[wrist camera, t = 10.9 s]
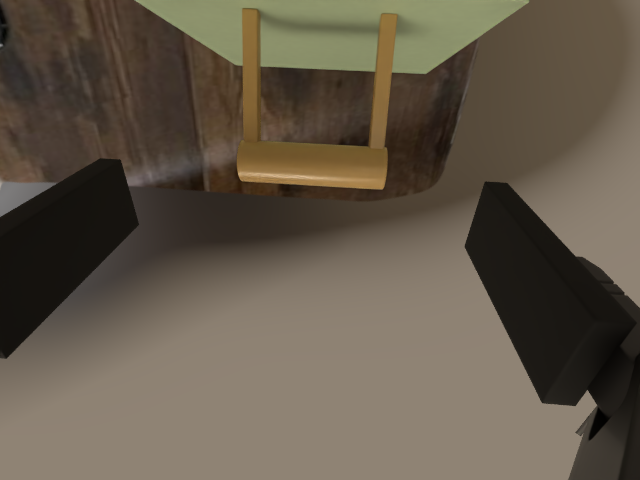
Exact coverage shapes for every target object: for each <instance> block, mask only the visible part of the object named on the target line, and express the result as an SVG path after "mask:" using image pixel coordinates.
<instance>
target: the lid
mask: <svg viewBox="0 0 640 480" xmlns="http://www.w3.org/2000/svg"><path fill="white" fill-rule="evenodd" d="M135 1H136V2H138V3H140V4H141V5H143V6H144V7H146V8H147V9H149V10H150V11H152V12H154V13H155V14H157V15H158V16H160V17H161V18H163V19H165V20H166V21H168V22H169V23H171V24H172V25H174V26H175V27H177V28H179V29H180V30H182V31H183V32H185V33H186V34H188V35H190V36H191V37H193V38H194V39H196V40H197V41H199V42H200V43H202V44H204V45H205V46H207V47H208V48H210V49H211V50H213V51H215V52H216V53H218V54H219V55H221V56H222V57H224V58H225V59H227V60H229V61H230V62H232V63H233V64H235V65H242V66H243V126H244V140H241V142H240V144H239V147H238V152H237V170H238V175H239V178H240V180H241V181H247V182H264V183H281V184H298V185H315V186H331V187H348V188H365V189H383V188H384V185H385V181H386V174H387V163H388V152H387V148H384V145H385V135H386V125H387V115H388V105H389V95H390V86H391V76H392V72H395V73H417V74H426V73H428V72H429V71H431V70H432V69H433V68H435V67H436V66H438V65H439V64H441V63H442V62H444V61H445V60H446V59H448V58H449V57H451V56H452V55H454V54H455V53H457V52H458V51H459V50H461V49H462V48H464V47H465V46H467V45H468V44H469V43H471V42H472V41H474V40H475V39H477V38H478V37H480V36H481V35H482V34H484V33H485V32H487V31H488V30H490V29H491V28H492V27H494V26H495V25H497V24H498V23H499V22H501V21H503V20H504V19H505V18H507V17H508V16H510V15H511V14H513V13H514V12H516V11H517V10H518V9H520V8H521V7H523V6H524V5H526V4H527V3H529V1H530V0H135ZM261 66H264V67H286V68H308V69H330V70H351V71H373V72H375V77H374V88H373V100H372V111H371V122H370V134H369V145H368V147H366V146H347V145H329V144H311V143H292V142H274V141H261Z"/></svg>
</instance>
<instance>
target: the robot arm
mask: <svg viewBox="0 0 640 480" xmlns="http://www.w3.org/2000/svg"><path fill="white" fill-rule="evenodd" d="M138 225H139V223H138V219H137V216H136V212H135V209H134V205H133V201H132V198H131V195H130V191H129V187H128V184H127V180H126V177H125V173H124V170H123V166H122V163H121V160H118V159H101V158H100V159H98V160H97V161H95V162H93V163H92V164H90V165H88V166H87V167H85V168H83V169H81V170H80V171H78V172H76V173H75V174H73V175H71V176H69V177H68V178H66V179H64V180H63V181H61V182H59V183H58V184H56V185H54V186H52V187H51V188H49V189H47V190H46V191H44V192H42V193H40V194H39V195H37V196H35V197H34V198H32V199H30V200H29V201H27V202H25V203H23V204H22V205H20V206H18V207H17V208H15V209H13V210H11V211H10V212H8V213H6V214H5V215H3V216H1V217H0V358H5V359H6V358H7V357H9V355H10V354H12V352H14V351H15V349H16V348H17V347H18V346H19V345H20V344H21V343H22V342H23V341H24V340H25V339H26V338H27V337H28V336H29V335H30V334H31V333H32V332H33V331H34V330H35V329H36V328H37V327H38V326H39V325H40V324H41V323H42V322H43V321H44V320H45V319H46V318H47V317H48V316H49V315H50V314H51V313H52V312H53V311H54V310H55V309H56V308H57V307H58V306H59V305H60V304H61V303H62V302H63V301H64V300H65V299H66V298H67V297H68V296H69V295H70V294H71V293H72V292H73V291H74V290H75V289H76V288H77V287H78V286H79V285H80V284H81V283H82V282H83V281H84V280H85V278H87V277H88V276H89V275H90V274H91V273H92V271H94V270H95V269H96V268H97V267H98V266H99V265H100V264H101V263H102V261H104V260H105V258H106V257H107V256H108V255H110V253H112V251H113V250H114V249H115V248H116V247H117V246H118V245H119V244H120V243H121V242H122V241H123V240H124V239H125V238H126V237H127V236H128V235H129V234H130V233H131V232H132V231H133V230H134V229H135V228H136V227H137V226H138ZM465 249H466V251H467V253H468V255H469V256H470V259H471V261H472V263H473V265H474V267H475V269H476V271H477V273H478V275H479V277H480V279H481V281H482V283H483V285H484V287H485V289H486V291H487V293H488V295H489V297H490V299H491V301H492V303H493V305H494V307H495V309H496V311H497V313H498V315H499V317H500V319H501V321H502V323H503V325H504V327H505V329H506V331H507V333H508V335H509V337H510V339H511V341H512V343H513V345H514V347H515V349H516V351H517V353H518V355H519V357H520V359H521V362H522V363H523V365H524V367H525V370H526V371H527V374H528V376H529V378H530V380H531V382H532V383H533V386H534V388H535V390H536V392H537V394H538V396H539V398H540V400H541V402H542V403H546V404H558V405H570V406H576V404H577V403H578V402H579V400H580V399H581V398H582V396H583V395H584V394H585V392H586V391H587V390H588V391H589V393H590V394H591V396H592V398H593V399H594V400H595V402H596V404H597V407H596V408H595V409H594V410H593V411H592V413H591V414H590V415H589V416H588V418H587V419H586V420H585V421H584V423H583V424H582V425H581V426H580V428H579V429H578V430H577V431H576V433H577V434H578V435H580V436H581V435H582V434H583V433H584V434H583V437H582V440H581V443H580V446H579V449H578V452H577V455H576V458H575V461H574V465H573V467H572V470H571V473H570V477H569V479H568V480H640V308H639V307H638V306H637V305H636V304H635V303H634V302H633V301H632V300H631V299H630V298H629V297H628V296H625V295H624V292H623V291H622V290H621V289H620V288H619V287H618V286H617V285H616V284H613V283H614V282H613V281H612V280H611V278H610V277H608V276H607V274H605V272H604V271H603V270H602V269H600V268H599V267H597V266H596V265H594V264H593V263H591V262H589V261H588V260H586V259H585V258H583V257H576V256H575V255H574V254H573V253H572V252H571V251H570V250H569V249H568V248H567V247H566V246H565V245H564V244H563V243H562V241H561V240H560V239H558V237H557V236H556V235H555V234H554V233H553V232H552V231H551V230H550V229H549V227H548V226H547V225H546V224H545V223H544V222H543V221H542V220H541V219H540V218H539V217H538V216H537V215H536V214H535V212H534V211H533V210H532V209H531V208H530V207H529V206H528V205H527V204H526V203H525V202H524V201H523V200H522V199H521V198H520V196H519V195H518V194H517V193H516V192H515V191H514V190H513V189H512V188H511V187H510V186H509V185H508V183H500V182H485V183H484V186H483V189H482V192H481V196H480V199H479V202H478V205H477V208H476V212H475V215H474V218H473V221H472V224H471V227H470V231H469V234H468V237H467V240H466V244H465Z"/></svg>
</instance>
